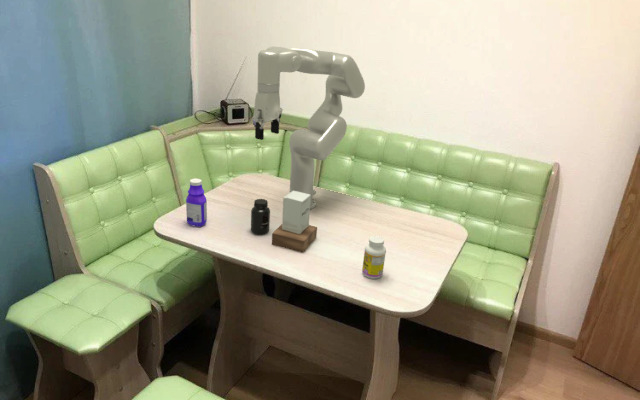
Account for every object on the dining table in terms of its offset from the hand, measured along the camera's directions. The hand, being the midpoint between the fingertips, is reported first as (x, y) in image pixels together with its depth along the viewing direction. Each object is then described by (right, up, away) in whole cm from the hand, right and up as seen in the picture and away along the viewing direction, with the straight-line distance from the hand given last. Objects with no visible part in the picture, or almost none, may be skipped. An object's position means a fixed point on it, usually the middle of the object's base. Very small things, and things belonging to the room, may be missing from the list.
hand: (267, 135), depth 176 cm
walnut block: (+10, -38, 0) cm, 39 cm away
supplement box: (+10, -33, -1) cm, 35 cm away
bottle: (-27, -32, +7) cm, 42 cm away
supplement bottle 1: (-3, -34, +5) cm, 35 cm away
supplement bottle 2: (+36, -47, -17) cm, 61 cm away
